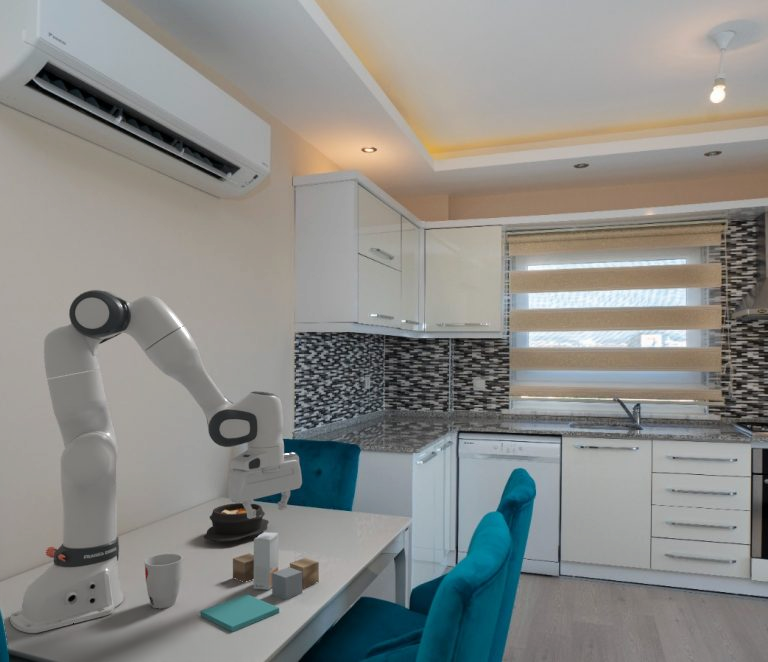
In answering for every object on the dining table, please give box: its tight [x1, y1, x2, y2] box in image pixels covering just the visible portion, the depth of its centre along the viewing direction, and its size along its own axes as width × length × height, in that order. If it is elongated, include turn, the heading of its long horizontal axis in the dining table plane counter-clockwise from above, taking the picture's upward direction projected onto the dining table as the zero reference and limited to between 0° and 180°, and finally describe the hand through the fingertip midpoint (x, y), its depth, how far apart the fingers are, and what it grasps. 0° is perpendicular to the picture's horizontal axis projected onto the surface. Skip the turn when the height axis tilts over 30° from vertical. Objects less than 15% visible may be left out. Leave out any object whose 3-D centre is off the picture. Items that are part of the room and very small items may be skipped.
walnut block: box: [232, 553, 254, 583], centre depth 152 cm, size 5×5×5 cm
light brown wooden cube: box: [289, 557, 320, 589], centre depth 148 cm, size 5×5×5 cm
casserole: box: [203, 502, 270, 543], centre depth 189 cm, size 25×19×8 cm
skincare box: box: [253, 531, 279, 591], centre depth 147 cm, size 6×4×12 cm
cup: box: [144, 553, 184, 610], centre depth 136 cm, size 8×8×10 cm
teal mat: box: [199, 593, 280, 633], centre depth 130 cm, size 12×12×1 cm
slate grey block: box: [271, 566, 303, 600], centre depth 141 cm, size 5×5×5 cm
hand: (267, 513), depth 147 cm, fingers open, 8 cm apart
